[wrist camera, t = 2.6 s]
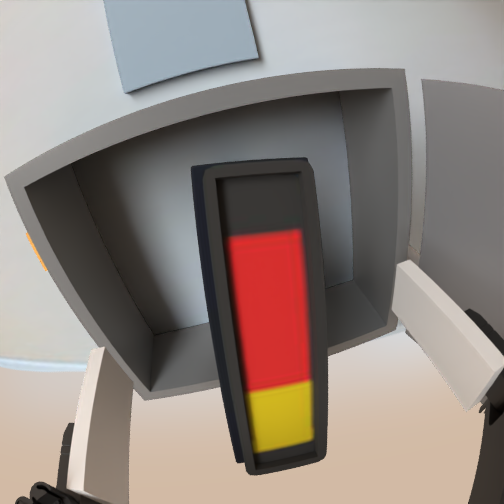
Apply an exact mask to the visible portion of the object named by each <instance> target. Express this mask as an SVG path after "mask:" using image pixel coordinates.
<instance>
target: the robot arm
mask: <svg viewBox="0 0 504 504" xmlns="http://www.w3.org/2000/svg"><path fill="white" fill-rule="evenodd" d="M392 311H393V312H394V313H395V315H396V316H397V317H398V318H399V320H400V321H401V322H402V323H403V325H404V326H405V327H406V329H407V330H408V331H409V332H410V334H411V335H412V336H413V338H414V339H415V340H416V342H417V343H418V344H419V346H420V347H421V348H422V350H423V351H424V352H425V353H426V355H427V356H428V358H429V359H430V360H431V362H432V363H433V365H434V366H435V367H436V369H437V370H438V372H439V373H440V374H441V376H442V377H443V379H444V380H445V381H446V383H447V384H448V386H449V387H450V389H451V390H452V392H453V393H454V395H455V396H456V397H457V399H458V400H459V402H460V403H461V405H462V406H463V408H464V409H465V411H466V412H467V411H468V410H470V409H471V408H472V407H473V406H475V405H476V404H478V403H479V402H480V401H481V399H482V398H483V397H484V395H486V396H487V400H486V401H485V402H484V403H483V405H482V406H481V407H480V410H479V413H481V412H482V411H483V410H484V409H485V407H486V410H485V412H484V413H485V420H484V429H483V436H482V444H481V449H480V455H479V461H478V466H477V471H476V475H475V479H474V484H473V488H472V491H471V495H470V499H469V502H468V504H504V340H503V338H502V337H501V336H500V335H499V334H498V333H497V332H496V331H495V330H493V327H492V326H491V325H490V324H488V323H487V321H486V320H485V319H484V318H483V317H482V316H481V315H480V314H479V313H477V312H475V311H473V310H472V309H470V308H469V309H467V310H466V311H463V310H462V309H461V308H460V307H459V306H458V305H457V304H456V303H455V302H454V301H453V300H452V299H451V298H450V297H449V296H448V295H447V294H446V293H445V292H444V291H443V290H442V289H441V288H440V287H439V286H438V285H437V284H436V283H435V282H434V281H433V280H432V279H431V278H429V277H428V276H427V275H426V274H425V273H424V272H423V271H422V270H421V269H420V268H419V267H418V266H417V265H416V264H414V263H413V262H412V261H411V260H407V261H404V262H402V263H399V264H397V267H396V278H395V287H394V295H393V303H392ZM133 384H134V383H133V381H132V380H131V379H130V378H129V377H128V375H127V374H126V373H125V372H124V371H123V369H122V368H121V367H120V366H119V364H118V363H117V362H116V361H115V359H114V358H113V357H112V355H111V354H110V353H109V351H108V350H107V349H106V347H100V348H95V349H91V352H90V356H89V360H88V364H87V368H86V372H85V376H84V380H83V384H82V389H81V393H80V398H79V403H78V408H77V413H76V418H75V423H69V424H68V426H67V428H66V430H65V432H64V435H63V441H62V445H63V446H62V447H61V455H60V462H59V469H58V478H57V486H56V488H54V487H52V486H50V485H48V484H47V483H44V482H37V483H35V484H34V485H33V486H32V488H31V491H30V499H28V498H26V497H24V496H23V497H19V498H18V499H17V500H16V502H15V504H129V439H130V421H131V406H132V395H133Z"/></svg>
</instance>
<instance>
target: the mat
mask: <svg viewBox="0 0 504 504" xmlns="http://www.w3.org/2000/svg"><path fill="white" fill-rule="evenodd" d="M103 1H104V6H105V12H106V17H107V22H108V27H109V32H110V36H111V41H112V45H113V50H114V54H115V58H116V63H117V67H118V71H119V75H120V79H121V83H122V86H123V90H124V93H129V92H132V91H134V90H137V89H140V88H143V87H146V86H148V85H151V84H154V83H157V82H161V81H164V80H167V79H170V78H174V77H177V76H180V75H184V74H188V73H191V72H195V71H199V70H203V69H207V68H211V67H216V66H220V65H225V64H230V63H235V62H240V61H246V60H251V59H257V58H258V52H257V48H256V44H255V40H254V36H253V32H252V28H251V24H250V20H249V16H248V12H247V8H246V4H245V0H103Z"/></svg>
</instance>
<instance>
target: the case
mask: <svg viewBox="0 0 504 504" xmlns="http://www.w3.org/2000/svg"><path fill="white" fill-rule="evenodd" d="M332 91H339V95H340V101H341V108H342V115H343V122H344V130H345V138H346V147H347V156H348V167H349V178H350V192H351V208H352V230H353V280H352V281H349V282H346V283H343V284H340V285H337V286H333V287H330V288H327V289H325V298H326V318H327V346H328V356H330V355H333V354H336V353H339V352H341V351H344V350H346V349H349V348H352V347H355V346H357V345H360V344H362V343H365V342H368V341H370V340H372V339H375V338H377V337H380V336H382V335H385V334H387V333H389V332H392V331H394V330H396V327H397V322H398V317H397V316H396V315H395V313H394V312H393V311H392V303H393V295H394V287H395V278H396V267H397V264H399V263H402V262H404V261H407V260H411V261H412V262H413V263H414V264H416V265H417V266H419V259H420V254H419V253H418V252H417V251H416V250H415V249H414V248H412V247H411V246H410V245H409V235H410V222H411V202H412V143H411V124H410V111H409V100H408V91H407V83H406V76H405V69H389V68H367V69H340V70H325V71H314V72H304V73H295V74H288V75H280V76H274V77H267V78H261V79H256V80H250V81H245V82H240V83H235V84H231V85H226V86H222V87H217V88H213V89H209V90H205V91H201V92H197V93H194V94H190V95H186V96H183V97H179V98H176V99H173V100H169V101H166V102H163V103H160V104H157V105H154V106H151V107H148V108H145V109H142V110H139V111H137V112H134V113H131V114H129V115H126V116H123V117H121V118H118V119H116V120H113V121H111V122H108V123H106V124H103V125H101V126H99V127H96V128H94V129H92V130H90V131H87V132H85V133H83V134H81V135H79V136H77V137H75V138H72V139H70V140H68V141H66V142H64V143H62V144H60V145H58V146H56V147H55V148H53V149H51V150H49V151H47V152H45V153H43V154H41V155H40V156H38V157H36V158H34V159H33V160H31V161H29V162H27V163H26V164H24V165H22V166H21V167H19V168H17V169H16V170H14V171H13V172H11V173H9V174H8V175H6V176H5V177H4V178H5V180H6V183H7V186H8V188H9V191H10V193H11V196H12V198H13V201H14V203H15V205H16V208H17V210H18V212H19V215H20V217H21V219H22V221H23V223H24V226H25V228H26V230H27V233H26V235H27V237H28V239H29V241H30V243H31V245H32V247H33V249H34V251H35V253H36V255H37V257H38V259H39V260H40V262H41V264H42V266H43V268H44V269H45V271H47V270H48V272H49V273H50V275H51V277H52V278H53V280H54V282H55V283H56V285H57V287H58V288H59V290H60V292H61V293H62V295H63V296H64V298H65V300H66V301H67V303H68V304H69V306H70V307H71V309H72V310H73V312H74V313H75V315H76V316H77V318H78V319H79V321H80V322H81V323H82V325H83V326H84V328H85V329H86V330H87V332H88V333H89V335H90V336H91V337H92V339H93V340H94V341H95V343H96V344H97V345H98V347H99V348H100V347H106V349H107V350H108V351H109V353H110V354H111V355H112V357H113V358H114V359H115V361H116V362H117V363H118V364H119V366H120V367H121V368H122V369H123V371H124V372H125V373H126V374H127V375H128V377H129V378H130V379H131V380H132V381H133V383H134V384H133V389H135V391H136V392H137V393H138V394H139V395H140V396H141V397H142V398H143V399H144V400H152V399H159V398H165V397H171V396H177V395H182V394H188V393H193V392H199V391H204V390H208V389H213V388H217V387H220V382H219V377H218V371H217V366H216V360H215V354H214V349H213V343H212V337H211V330H210V324H209V323H205V324H201V325H197V326H193V327H189V328H185V329H180V330H176V331H172V332H168V333H163V334H159V335H155V336H154V335H153V333H152V332H151V330H150V328H149V327H148V325H147V323H146V322H145V320H144V318H143V317H142V315H141V313H140V311H139V310H138V308H137V306H136V304H135V303H134V301H133V299H132V297H131V295H130V294H129V292H128V290H127V288H126V286H125V284H124V282H123V281H122V279H121V277H120V275H119V273H118V271H117V269H116V267H115V265H114V263H113V261H112V259H111V257H110V255H109V253H108V251H107V249H106V247H105V245H104V243H103V240H102V238H101V236H100V234H99V232H98V230H97V227H96V225H95V223H94V221H93V218H92V216H91V214H90V211H89V209H88V207H87V204H86V202H85V199H84V197H83V194H82V192H81V189H80V187H79V184H78V182H77V179H76V176H75V174H74V171H73V168H72V165H71V163H72V162H75V161H77V160H79V159H81V158H83V157H86V156H88V155H90V154H93V153H95V152H97V151H100V150H102V149H104V148H107V147H109V146H112V145H114V144H117V143H119V142H122V141H125V140H127V139H130V138H133V137H136V136H138V135H141V134H144V133H147V132H150V131H153V130H156V129H159V128H162V127H165V126H168V125H171V124H174V123H178V122H181V121H185V120H188V119H191V118H195V117H199V116H202V115H206V114H210V113H214V112H218V111H222V110H226V109H230V108H235V107H239V106H244V105H249V104H253V103H258V102H264V101H269V100H275V99H280V98H286V97H293V96H300V95H307V94H315V93H323V92H332Z"/></svg>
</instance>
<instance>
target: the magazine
mask: <svg viewBox="0 0 504 504" xmlns="http://www.w3.org/2000/svg"><path fill="white" fill-rule="evenodd" d="M191 178H192V189H193V200H194V209H195V219H196V228H197V236H198V245H199V253H200V261H201V269H202V276H203V284H204V291H205V298H206V304H207V311H208V318H209V324H210V330H211V337H212V343H213V349H214V354H215V360H216V366H217V371H218V377H219V382H220V387H221V392H222V398H223V402H224V408H225V413H226V418H227V423H228V428H229V432H230V437H231V442H232V446H233V450H234V455H235V459H236V462H237V463H245V467H246V471H247V473H248V474H250V475H262V474H268V473H273V472H278V471H282V470H287V469H292V468H296V467H300V466H304V465H308V464H311V463H315V462H319V461H320V460H322V459H324V457H325V456H326V452H327V451H326V450H327V426H328V346H327V318H326V298H325V282H324V268H323V255H322V243H321V232H320V222H319V213H318V204H317V195H316V187H315V179H314V172H313V169H312V167H311V165H310V164H309V162H308V159H307V158H305V157H301V158H278V159H261V160H247V161H235V162H224V163H214V164H204V165H196V166H192V167H191Z"/></svg>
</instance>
